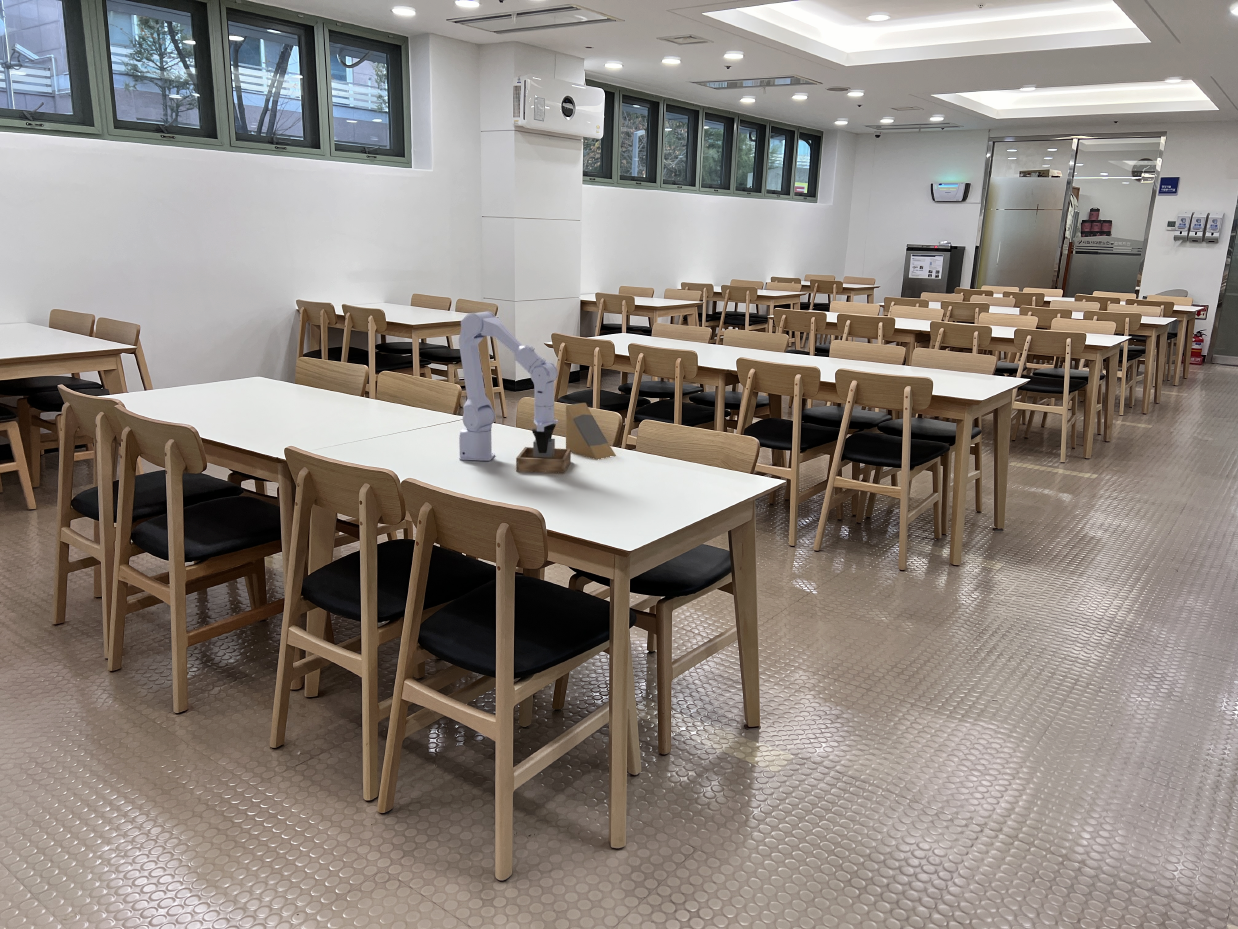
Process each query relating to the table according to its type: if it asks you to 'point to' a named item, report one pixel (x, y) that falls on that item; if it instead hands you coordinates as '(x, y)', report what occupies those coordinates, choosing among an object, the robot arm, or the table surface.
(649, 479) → the table surface
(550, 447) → the small crate
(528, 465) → the large crate
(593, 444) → the sandwich container
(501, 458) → the table surface
